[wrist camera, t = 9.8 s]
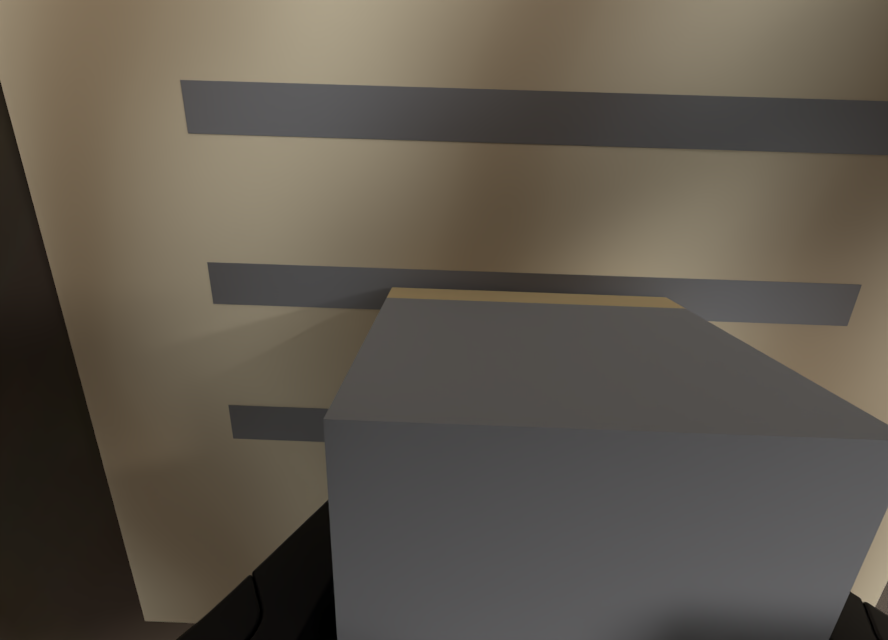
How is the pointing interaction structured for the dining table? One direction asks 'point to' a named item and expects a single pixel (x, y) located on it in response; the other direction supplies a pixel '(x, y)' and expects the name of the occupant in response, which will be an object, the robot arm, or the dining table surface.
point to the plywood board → (422, 213)
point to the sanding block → (589, 476)
